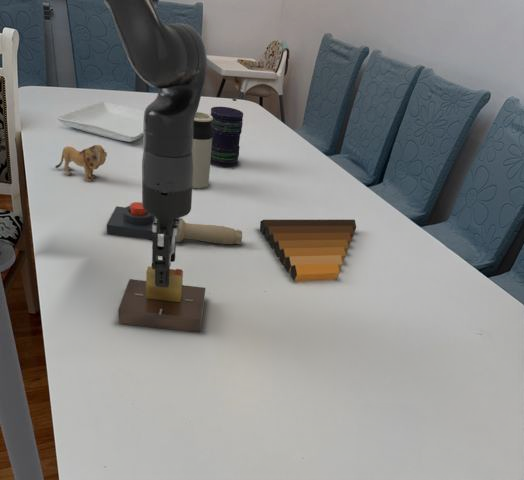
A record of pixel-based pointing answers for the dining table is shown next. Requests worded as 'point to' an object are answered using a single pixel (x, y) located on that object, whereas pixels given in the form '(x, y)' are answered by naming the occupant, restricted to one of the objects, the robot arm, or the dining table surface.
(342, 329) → the dining table surface
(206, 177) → the travel mug
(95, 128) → the square plate
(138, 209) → the button
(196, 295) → the panel
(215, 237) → the handle
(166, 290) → the lock knob
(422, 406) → the dining table surface
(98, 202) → the dining table surface
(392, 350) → the dining table surface
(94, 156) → the lion figurine
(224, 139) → the storage jar
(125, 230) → the button housing
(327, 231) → the pan flute
